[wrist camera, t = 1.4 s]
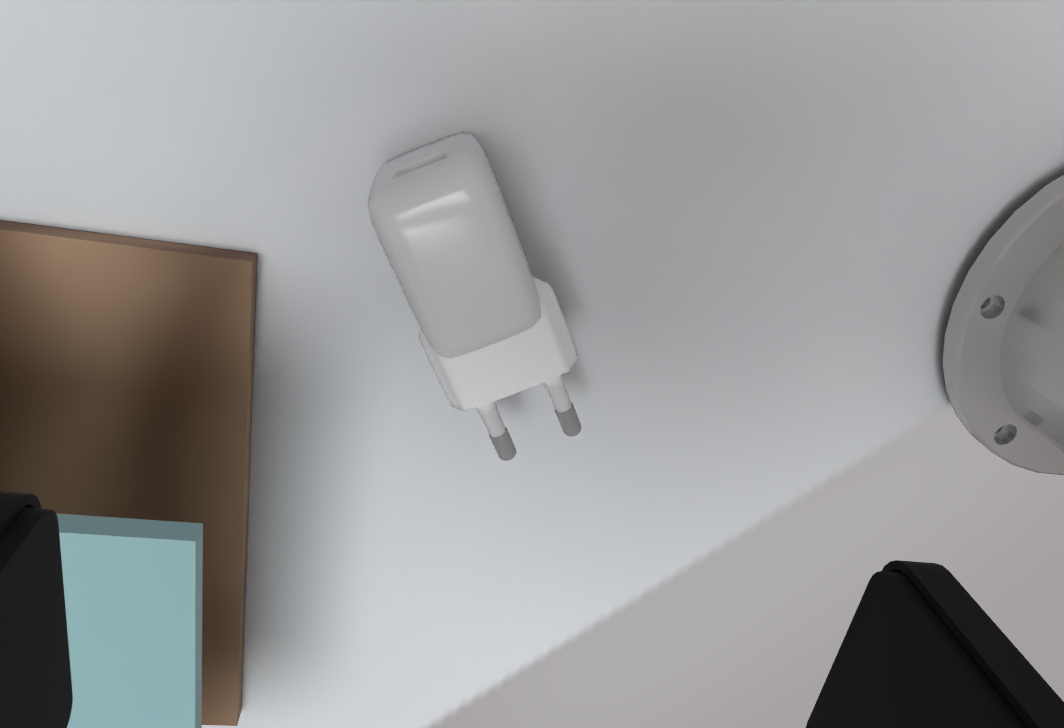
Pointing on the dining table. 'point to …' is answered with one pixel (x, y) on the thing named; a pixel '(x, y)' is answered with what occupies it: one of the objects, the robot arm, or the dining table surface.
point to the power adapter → (471, 283)
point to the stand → (136, 401)
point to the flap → (133, 621)
